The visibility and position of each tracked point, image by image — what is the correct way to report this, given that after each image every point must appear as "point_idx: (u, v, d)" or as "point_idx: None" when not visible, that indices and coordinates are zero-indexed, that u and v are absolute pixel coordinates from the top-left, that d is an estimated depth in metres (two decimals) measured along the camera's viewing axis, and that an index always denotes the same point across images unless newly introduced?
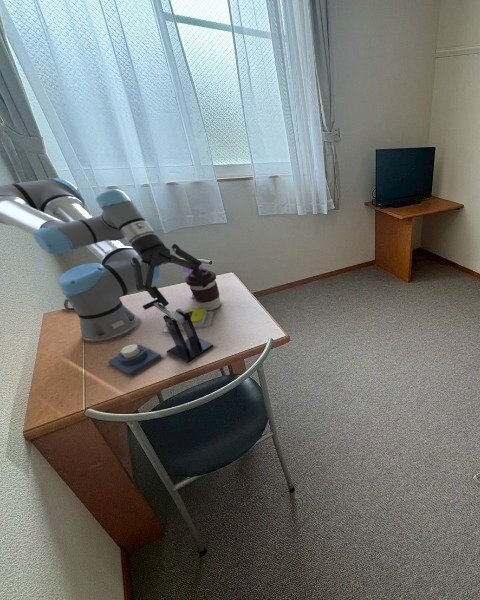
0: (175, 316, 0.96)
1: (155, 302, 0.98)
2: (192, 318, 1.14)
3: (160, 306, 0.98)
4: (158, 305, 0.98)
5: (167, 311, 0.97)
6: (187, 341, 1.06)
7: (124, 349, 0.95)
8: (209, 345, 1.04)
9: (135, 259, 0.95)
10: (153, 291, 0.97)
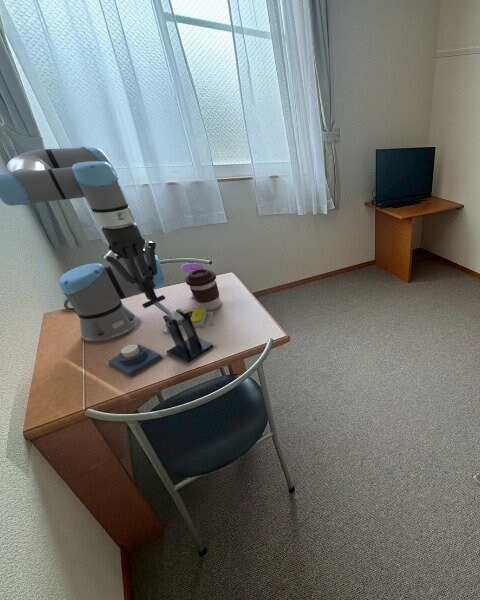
0: (175, 316, 0.96)
1: (155, 301, 0.98)
2: (192, 318, 1.14)
3: (160, 305, 0.97)
4: (158, 304, 0.98)
5: (167, 310, 0.97)
6: (187, 341, 1.06)
7: (124, 349, 0.95)
8: (209, 345, 1.04)
9: (110, 258, 0.85)
10: (143, 286, 0.94)
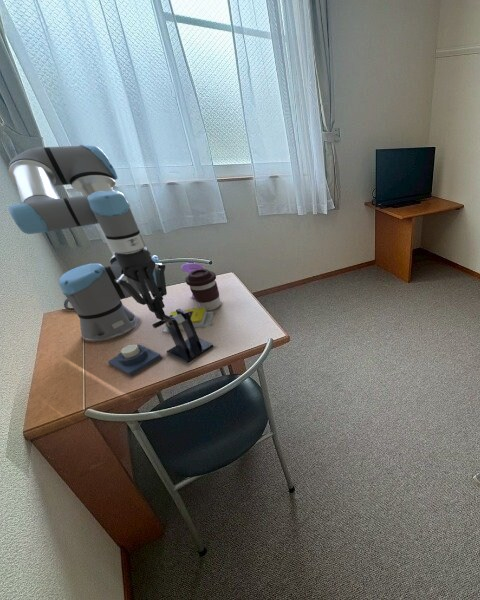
0: (173, 316, 0.96)
1: (163, 320, 1.02)
2: (192, 318, 1.14)
3: None
4: None
5: None
6: (187, 341, 1.06)
7: (124, 349, 0.95)
8: (209, 345, 1.04)
9: (122, 282, 0.88)
10: (153, 306, 0.98)
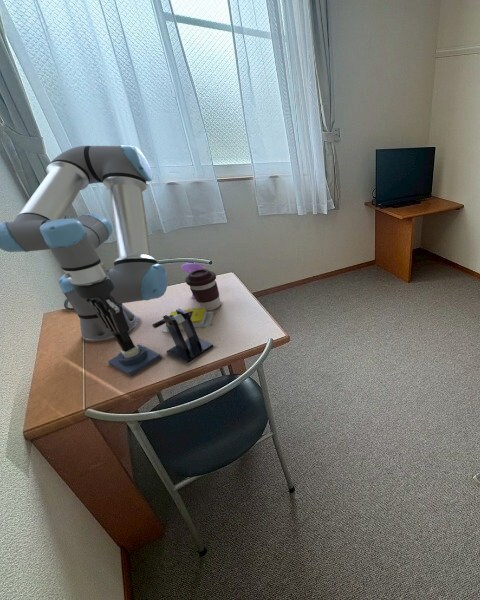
0: (173, 316, 0.96)
1: (163, 320, 1.02)
2: (192, 318, 1.14)
3: None
4: None
5: None
6: (187, 341, 1.06)
7: None
8: (209, 345, 1.04)
9: (87, 300, 0.88)
10: None
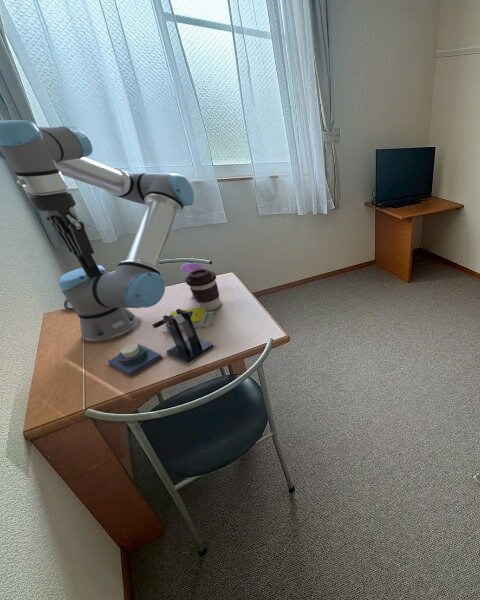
0: (173, 316, 0.96)
1: (163, 320, 1.02)
2: (192, 318, 1.14)
3: None
4: None
5: None
6: (187, 341, 1.06)
7: (124, 349, 0.95)
8: (209, 345, 1.04)
9: (47, 219, 0.84)
10: None
